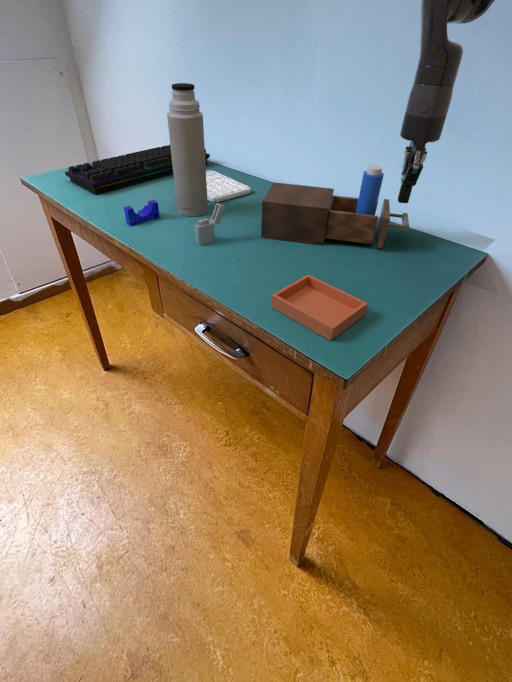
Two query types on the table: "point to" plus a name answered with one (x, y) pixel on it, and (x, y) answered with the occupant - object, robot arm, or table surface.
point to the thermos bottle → (187, 151)
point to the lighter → (208, 226)
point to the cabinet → (296, 213)
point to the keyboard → (123, 170)
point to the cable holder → (142, 213)
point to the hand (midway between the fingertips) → (402, 201)
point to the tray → (319, 306)
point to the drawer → (359, 222)
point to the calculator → (223, 187)
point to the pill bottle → (370, 190)
